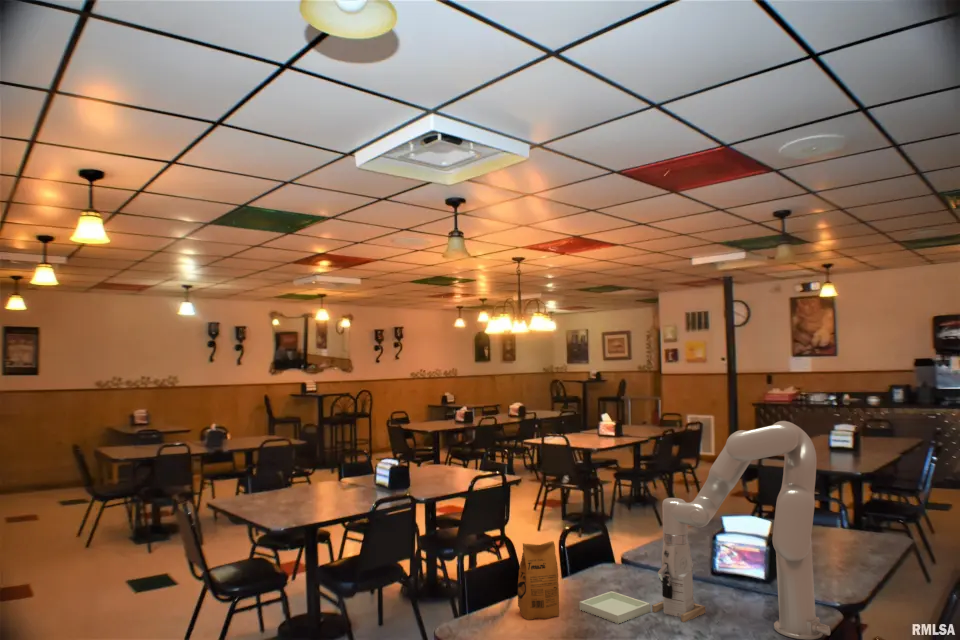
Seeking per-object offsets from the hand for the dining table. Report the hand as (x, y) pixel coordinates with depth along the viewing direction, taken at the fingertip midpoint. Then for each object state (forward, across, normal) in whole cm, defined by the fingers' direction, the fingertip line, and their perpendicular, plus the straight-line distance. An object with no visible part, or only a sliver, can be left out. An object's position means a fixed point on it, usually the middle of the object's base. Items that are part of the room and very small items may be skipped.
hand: (676, 594), depth 201 cm
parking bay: (+6, 0, 0) cm, 6 cm away
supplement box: (+6, 0, 0) cm, 6 cm away
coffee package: (+6, -34, +28) cm, 44 cm away
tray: (+6, -14, +14) cm, 20 cm away
